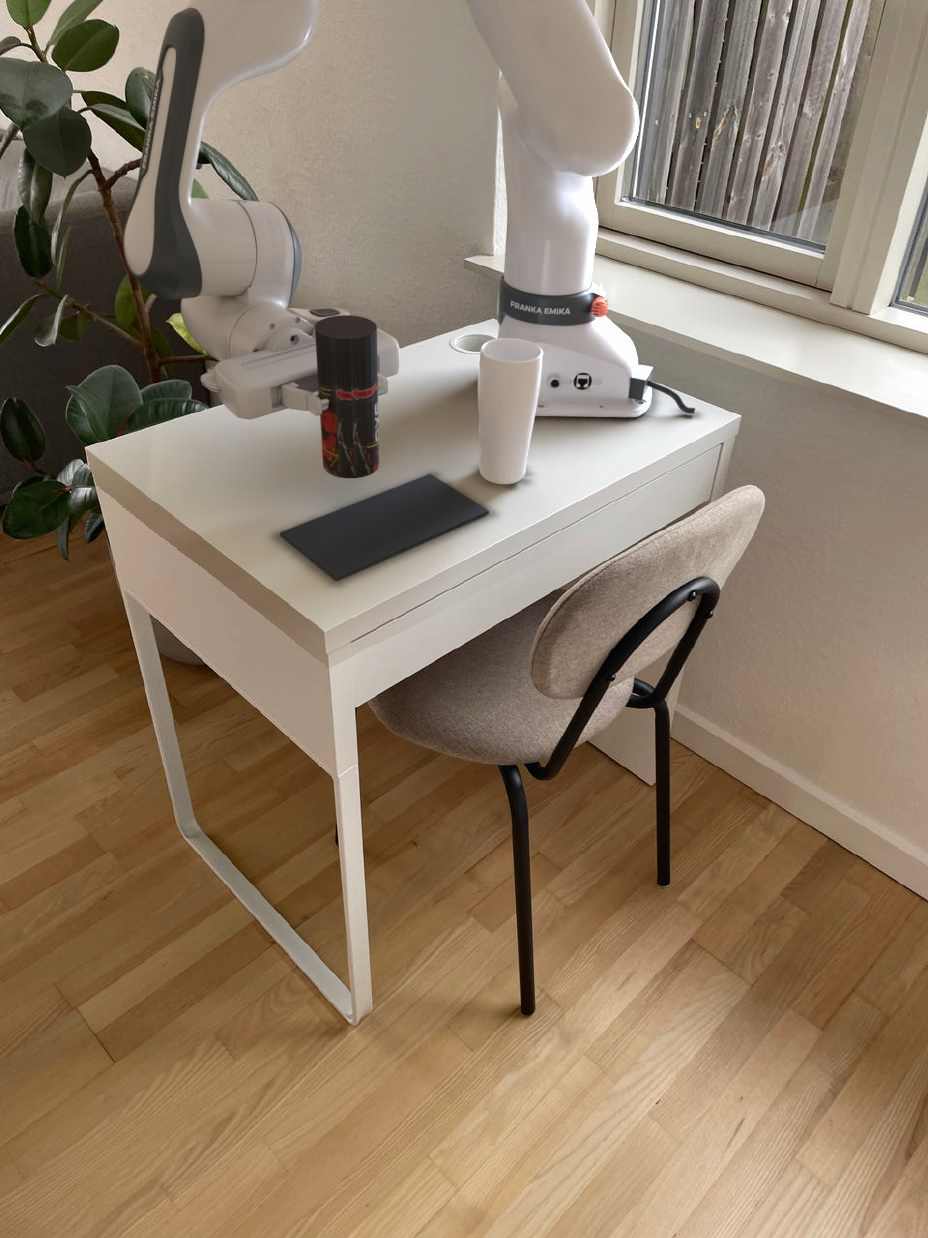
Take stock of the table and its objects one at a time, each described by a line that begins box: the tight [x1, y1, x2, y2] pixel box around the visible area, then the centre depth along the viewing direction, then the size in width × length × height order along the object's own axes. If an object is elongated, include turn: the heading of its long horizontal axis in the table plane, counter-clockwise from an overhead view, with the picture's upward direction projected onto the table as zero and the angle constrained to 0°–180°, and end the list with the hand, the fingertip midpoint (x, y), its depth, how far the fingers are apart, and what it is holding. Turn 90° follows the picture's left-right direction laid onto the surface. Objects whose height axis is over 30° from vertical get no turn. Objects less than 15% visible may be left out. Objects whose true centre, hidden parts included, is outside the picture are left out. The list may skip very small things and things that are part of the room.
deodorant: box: [315, 314, 380, 480], centre depth 94 cm, size 6×6×15 cm
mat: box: [279, 473, 490, 582], centre depth 98 cm, size 20×10×1 cm, turn 131°
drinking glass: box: [477, 338, 543, 485], centre depth 103 cm, size 7×7×15 cm
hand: (354, 397), depth 93 cm, fingers closed on deodorant, 6 cm apart
